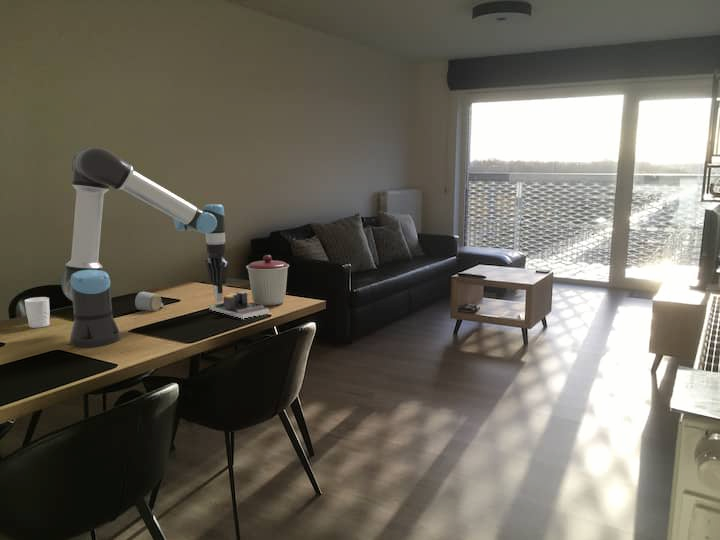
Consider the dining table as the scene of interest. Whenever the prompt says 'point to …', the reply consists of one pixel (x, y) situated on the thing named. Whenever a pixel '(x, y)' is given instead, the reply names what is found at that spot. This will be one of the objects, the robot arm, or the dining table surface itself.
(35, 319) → the white cup
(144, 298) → the ceramic mug
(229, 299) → the toggle
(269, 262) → the canister
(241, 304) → the serrated grey base plate
